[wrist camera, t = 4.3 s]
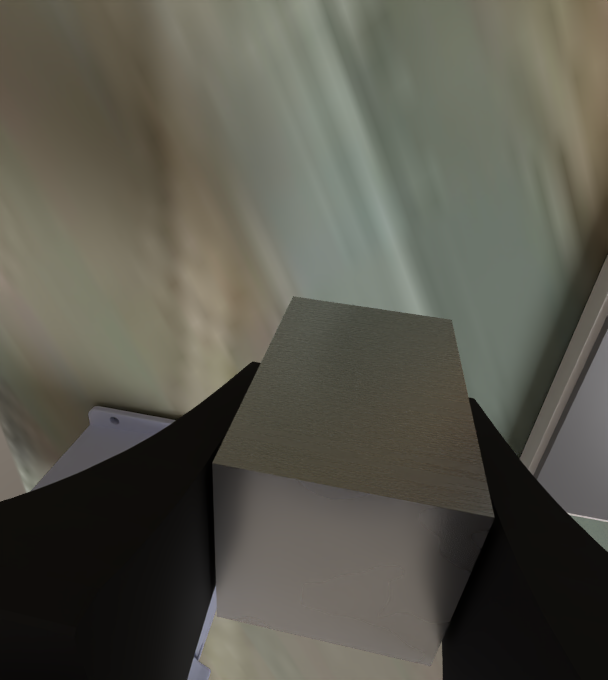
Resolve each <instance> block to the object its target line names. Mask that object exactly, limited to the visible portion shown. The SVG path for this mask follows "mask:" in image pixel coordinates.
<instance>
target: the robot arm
mask: <svg viewBox="0 0 608 680" xmlns="http://www.w3.org/2000/svg"><path fill="white" fill-rule="evenodd" d="M260 364H261V363H258V362H252V363H250V364H249V365H247V366H246V367H245V368H244V369H242V370H241V371H240V372H239V373H238V374H236V375H235V376H234V377H233V378H232V379H230V380H229V381H228V382H227V383H226V384H224V385H223V386H222V387H221V388H219V389H218V390H217V391H216V392H214V393H213V394H212V395H210V396H209V397H208V398H207V399H205V400H204V401H203V402H201V403H200V404H199V405H197V406H196V407H195V408H193V409H192V410H190V411H189V412H188V413H186V414H185V415H183V416H182V417H180V418H179V419H177V420H172V419H166V418H161V417H156V416H150V415H145V414H139V413H134V412H129V411H123V410H118V409H112V408H107V407H102V406H94V407H93V408H92V409H91V410H90V411H89V413H88V416H89V421H90V425H89V426H88V427H87V429H86V430H85V431H84V432H83V433H82V434H81V435H80V436H79V437H78V439H77V440H76V441H75V442H74V443H73V444H72V445H71V446H70V448H69V449H68V450H67V451H66V452H65V453H64V454H63V455H62V457H61V458H60V459H59V460H58V461H57V462H56V463H55V464H54V466H53V467H52V468H51V469H50V470H49V471H48V472H47V473H46V474H45V476H44V477H43V478H42V479H41V480H40V481H39V482H38V483H37V485H36V486H35V487H34V488H33V489H32V490H31V491H30V492H28V493H25V494H22V495H19V496H17V497H14V498H11V499H8V500H4V501H1V502H0V680H208V679H209V676H210V672H211V670H210V669H209V668H208V667H206V666H205V665H203V664H202V663H200V662H199V659H200V656H201V653H202V650H203V647H204V644H205V641H206V638H207V635H208V632H209V629H210V627H211V624H212V621H213V618H214V615H215V612H216V609H217V600H216V567H215V535H214V502H213V470H212V463H213V461H214V459H215V456H216V454H217V452H218V450H219V448H220V446H221V444H222V442H223V440H224V438H225V436H226V434H227V432H228V430H229V428H230V426H231V424H232V421H233V419H234V417H235V415H236V413H237V411H238V409H239V407H240V405H241V403H242V401H243V399H244V397H245V395H246V393H247V391H248V388H249V386H250V384H251V382H252V380H253V378H254V376H255V374H256V372H257V370H258V368H259V366H260ZM469 402H470V407H471V412H472V416H473V421H474V425H475V430H476V435H477V439H478V444H479V448H480V453H481V458H482V462H483V467H484V471H485V476H486V481H487V485H488V490H489V494H490V499H491V503H492V508H493V513H494V517H495V518H494V521H493V523H492V525H491V528H490V530H489V532H488V534H487V537H486V539H485V541H484V544H483V546H482V548H481V551H480V553H479V555H478V558H477V560H476V562H475V565H474V567H473V569H472V572H471V574H470V576H469V579H468V581H467V583H466V586H465V588H464V590H463V593H462V595H461V597H460V600H459V602H458V604H457V607H456V609H455V611H454V613H453V616H452V618H451V620H450V623H449V625H448V627H447V630H446V632H445V634H444V637H443V639H442V657H443V680H608V552H607V551H606V550H605V549H604V548H603V547H602V546H600V545H599V544H598V543H597V542H596V541H595V540H594V539H593V538H592V537H591V536H590V535H589V534H588V533H587V532H586V531H585V530H584V529H583V528H582V527H581V526H580V525H579V524H578V523H577V522H576V521H575V520H574V519H573V518H572V517H571V516H570V515H569V514H568V513H567V512H566V511H565V510H564V509H563V508H562V507H561V506H560V505H559V504H558V503H557V502H556V501H555V500H554V499H553V497H552V496H551V495H550V494H549V493H548V492H547V491H546V490H545V488H544V487H543V486H542V485H541V484H540V483H539V482H538V481H537V479H536V478H535V477H534V476H533V475H532V474H531V472H530V471H529V470H528V469H527V468H526V466H525V465H524V464H523V463H522V461H521V460H520V459H519V458H518V456H517V455H516V454H515V453H514V451H513V450H512V449H511V448H510V446H509V445H508V444H507V442H506V441H505V440H504V438H503V437H502V436H501V434H500V433H499V432H498V430H497V429H496V428H495V426H494V425H493V424H492V422H491V421H490V419H489V418H488V417H487V415H486V414H485V413H484V411H483V410H482V408H481V407H480V406H479V404H478V403H477V402H476V400H475V399H474V398H469ZM116 418H117V419H116Z"/></svg>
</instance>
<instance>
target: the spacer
mask: <svg viewBox="0 0 608 680" xmlns="http://www.w3.org/2000/svg"><path fill="white" fill-rule="evenodd" d="M212 470H213V502H214V535H215V567H216V600H217V616H218V617H222V618H226V619H231V620H235V621H239V622H244V623H248V624H252V625H256V626H261V627H265V628H269V629H274V630H278V631H282V632H286V633H291V634H295V635H299V636H304V637H308V638H312V639H316V640H321V641H325V642H329V643H334V644H338V645H342V646H346V647H351V648H355V649H359V650H364V651H368V652H372V653H376V654H381V655H385V656H389V657H394V658H398V659H402V660H407V661H411V662H415V663H419V664H424V665H428V666H431V665H432V662H433V660H434V658H435V655H436V653H437V651H438V648H439V646H440V644H441V641H442V639H443V637H444V634H445V632H446V630H447V627H448V625H449V623H450V620H451V618H452V616H453V613H454V611H455V609H456V607H457V604H458V602H459V600H460V597H461V595H462V593H463V590H464V588H465V586H466V583H467V581H468V579H469V576H470V574H471V572H472V569H473V567H474V565H475V562H476V560H477V558H478V555H479V553H480V551H481V548H482V546H483V544H484V541H485V539H486V537H487V534H488V532H489V530H490V528H491V525H492V523H493V521H494V518H495V517H494V513H493V508H492V503H491V499H490V494H489V490H488V485H487V481H486V476H485V471H484V467H483V462H482V458H481V453H480V448H479V444H478V439H477V435H476V430H475V425H474V421H473V416H472V412H471V407H470V402H469V398H468V393H467V389H466V384H465V380H464V375H463V370H462V366H461V361H460V357H459V352H458V347H457V343H456V338H455V334H454V329H453V324H452V320H449V319H443V318H436V317H429V316H422V315H416V314H409V313H402V312H395V311H388V310H382V309H375V308H368V307H361V306H355V305H348V304H341V303H334V302H328V301H321V300H314V299H307V298H301V297H294V296H293V298H292V300H291V302H290V304H289V306H288V308H287V310H286V312H285V314H284V316H283V318H282V320H281V323H280V325H279V327H278V329H277V331H276V333H275V335H274V337H273V339H272V341H271V343H270V345H269V347H268V349H267V351H266V353H265V356H264V358H263V360H262V362H261V364H260V366H259V368H258V370H257V372H256V374H255V376H254V378H253V380H252V382H251V384H250V386H249V388H248V391H247V393H246V395H245V397H244V399H243V401H242V403H241V405H240V407H239V409H238V411H237V413H236V415H235V417H234V419H233V421H232V424H231V426H230V428H229V430H228V432H227V434H226V436H225V438H224V440H223V442H222V444H221V446H220V448H219V450H218V452H217V454H216V456H215V459H214V461H213V463H212Z"/></svg>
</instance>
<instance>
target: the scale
mask: <svg viewBox="0 0 608 680" xmlns="http://www.w3.org/2000/svg"><path fill="white" fill-rule="evenodd" d="M520 460H521V461H522V463H523V464H524V465H525V466H526V468H527V469H528V470H529V471H530V472H531V474H532V475H533V476H534V477H535V478H536V479H537V481H538V482H539V483H540V484H541V485H542V486H543V487H544V488H545V490H546V491H547V492H548V493H549V494H550V495H551V496H552V497H553V499H554V500H555V501H556V502H557V503H558V504H559V505H560V506H561V507H562V508H563V509H564V510H565V511H566V512H567V513H568V514H569V515H573V516H579V517H584V518H589V519H594V520H600V521H605V522H608V255H607V257H606V259H605V262H604V264H603V266H602V269H601V271H600V273H599V276H598V278H597V280H596V283H595V285H594V287H593V290H592V292H591V294H590V297H589V299H588V301H587V304H586V306H585V308H584V311H583V313H582V315H581V318H580V320H579V322H578V325H577V327H576V329H575V331H574V334H573V336H572V338H571V341H570V343H569V345H568V348H567V350H566V352H565V355H564V357H563V359H562V362H561V364H560V366H559V369H558V371H557V373H556V376H555V378H554V380H553V383H552V385H551V387H550V390H549V392H548V394H547V397H546V399H545V401H544V403H543V406H542V408H541V410H540V413H539V415H538V417H537V420H536V422H535V424H534V427H533V429H532V431H531V434H530V436H529V438H528V441H527V443H526V445H525V448H524V450H523V452H522V455H521V457H520Z"/></svg>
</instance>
